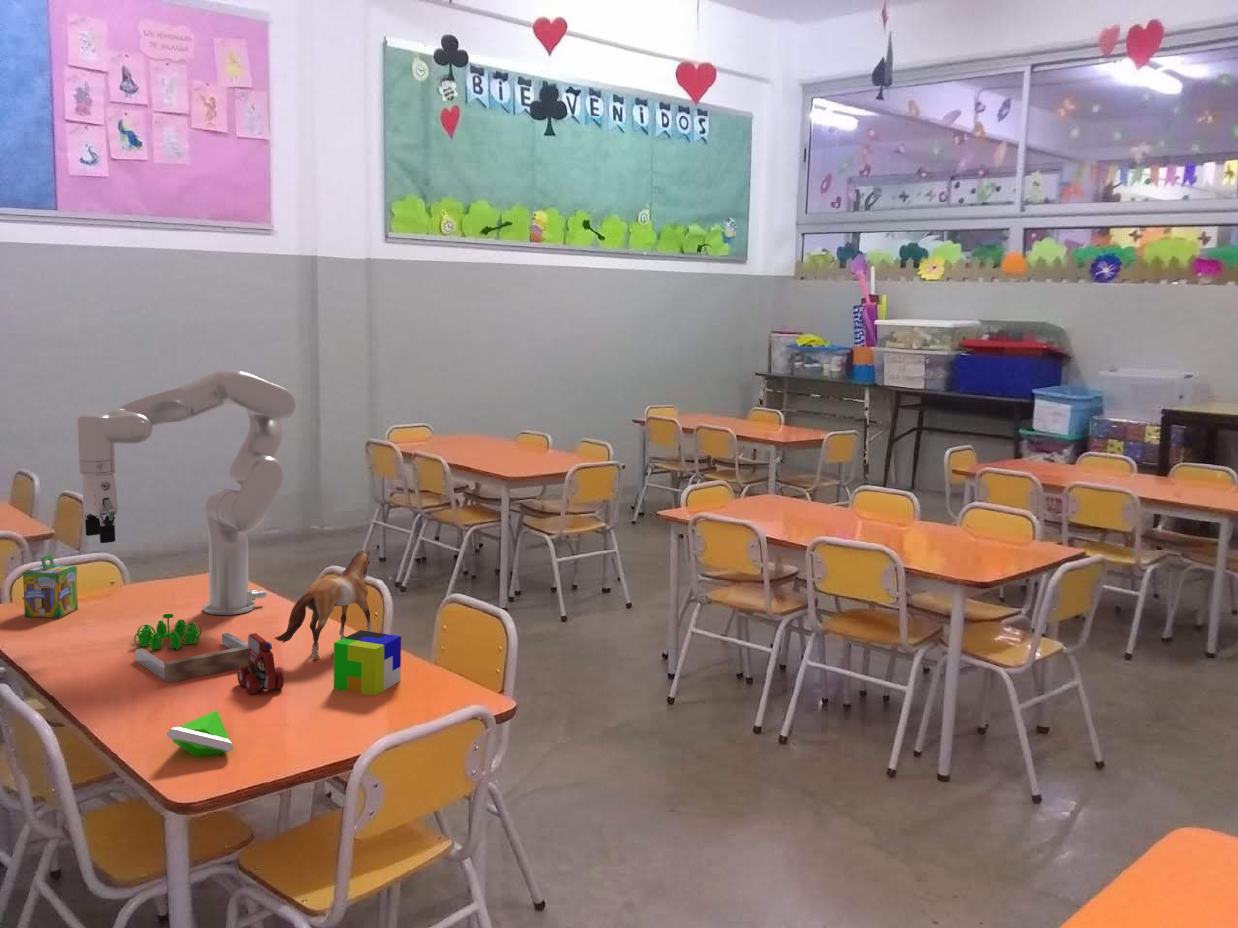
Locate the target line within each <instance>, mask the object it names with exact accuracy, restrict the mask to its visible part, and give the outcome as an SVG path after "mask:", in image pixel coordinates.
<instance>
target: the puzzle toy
mask: <svg viewBox="0 0 1238 928" xmlns="http://www.w3.org/2000/svg"><path fill="white" fill-rule="evenodd" d="M401 655H402V636H401V635H394V634H387V633H382V632H376V631H371V632H369V631H366V630H362V629H361V630H358V631H356V632H354V633H351V634H350V635H348V636H346V637H345V638H343V639H339V640H337V641H334V642H333V689H335V690H340V691H345V692H351V693H357V694H362V695H363V694H364V695H368V696H372V697H373V696H374V697H375V696H377V695H379V694H381V693H382V692H384V691H387V689H389V688H391V687H392V686H394V685H396V684H398V683H400V682H401V675H402V674H401V673H402V671H401V669H402V666H401V665H402V656H401Z"/></svg>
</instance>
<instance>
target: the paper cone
mask: <svg viewBox="0 0 1238 928" xmlns="http://www.w3.org/2000/svg"><path fill="white" fill-rule="evenodd" d="M166 736H167V737H168V738H169V739H171V740H172V742H173V743H174V744H175V745H177V746H179V747H180V748H182V750H184V751H186V752H188V753H189V754H191V755H192V756H195V757H198V756H200V757H201V756H207V755H208V756H209V755H221V754H225V753H226V752H227V753H228V752H231V751H233V743H232V742H231V740H230V737H229V735H228V733H227V730H226V729H225V726H224V723H223V722H222V719H221V717H220V714H219V713H218V711H217V710H214V711H211V712H209V713H207V714H204V715H202V716H200V717H198V718H196V719H192V720H191V721H189V722H186V723H184V724H181V725H180V726H176V727H172V728H170V729H169V730H168V732H167V733H166Z"/></svg>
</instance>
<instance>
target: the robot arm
mask: <svg viewBox="0 0 1238 928" xmlns="http://www.w3.org/2000/svg"><path fill="white" fill-rule="evenodd" d="M228 404H232V405H238V406H240V407H242V408H244V409H245V411H246V413H247V415H248V418H249V419H248V420H249V430H248V432H247V434H246V437H245V439H244V441H243V443H242V445H241V447H240V449H239V450H238V452H237V454H236V456H235V458H234V459H233V460H232V463H231V465H230V468H229V470H228V471H229V475H228V476H229V479H230V480H231V481H232V483H233V484H234V485H236V486H238V487H240V488H239V490H236V489H232V488H220V489H218V490H215V491H213V492H212V493H211V494H210V495H209V496H208V497H207V500H206V502H205V505H204V514H205V515H204V516H205V521H206V526H207V533H208V534H207V535H208V574H209V575H208V577H209V578H208V579H209V580H208V581H209V583H208V584H209V589H208V590H209V593H208V594H209V598H208V599H209V600H208V602H206V603H204V604H203V606H202V610H203V612H204V613H206V614H210V615H215V616H231V615H239V614H240V615H241V614H245V613H248V612H251V611H252V610H254V609H255V605H256V604H255V602H254V601H255V600H256V599H264V598H266V597H267V592H266V590H258V591H257V590H256V589H255V590H252V589H249V538H248V533H247V532H250V531H253V530H254V529H257V528H258V527H259V526H260V525H261V523H263V521H264V520H265V517H266V516H267V514H268V512H269V511H270V508H271V507H272V505H273V502H274V501H275V499H276V497H277V494H279V492H280V489H281V487H282V484H283V481H284V468H283V467H282V466H283V465H282V463H280V461H278V460H277V458H275V457H276V455H277V452H278V450H279V447H280V446H281V442H282V440H283V439H282V438H283V425H282V421H283V420H287V419H288V418H289V417H291V416H292V414H294V411H295V410H296V399H295V397H294V394H293V393H292V392H291V391H290V390H288V389H287V388H286V387H282V386H280V385H278V384H275V383H272V382H270V381H268V380H265V379H263V378H261V377H258V376H255V375H253V374H251V373H248V372H245V371H241V370H236V369H226V368H225V369H219V370H217V371H213V372H212V373H208V374H206V375H204V376H201V377H199V378H196V379H195V380H191V381H190V382H188V383H185V384H183V385H180V386H177V387H175V388H172V389H169V390H168V389H167V390H164V391H161V392H158V393H155V394H152V395H151V394H150V395H148V396H144V397H141V398H139V399H135V400H133V401H129V402H128V403H125V404H122V405H120V406H118V407H116V408H113V409H112V410H110V411H108V412H107V413H85V414H82V415H80V416H79V417H78V419H77V443H78V446H77V447H78V468H79V475H82V503H83V504H82V505H83V510H84V511H85V512H84V520H85V521H84V526H85V536H88V537H90V536H98V535H99V543H101V544H108V543H115V542H116V525H115V524H116V521H115V519H116V517H115V516H116V515H118V514H119V505H118V493H117V485H116V479H115V473H116V457H115V456H116V455H115V451H116V450H115V449H116V448H115V445H116V444H121V445H125V444H126V445H138V444H143V443H145V442H146V441H147V440H149V438H150V437H151V435H152V433H153V427H154V426H157V425H163V424H167V423H168V424H169V423H181V422H187V421H191V420H194V419H196V418H198V417H200V416H202V415H205V414H207V413H210V412H212V411H215V410H216V409H219V408H221V407H223V406H225V405H228Z"/></svg>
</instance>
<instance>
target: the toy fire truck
mask: <svg viewBox="0 0 1238 928" xmlns="http://www.w3.org/2000/svg"><path fill="white" fill-rule="evenodd" d="M247 640H248V641H247V643H248V646H249V657H248V666H244V667H240V668H237V669H238V670H237V676H236V677H237V681H238V684H239V686H240V687H241V688H242V687H243V688H245V690H246V693H247V694H248V695H253V694H257V693H258V691H259V690H260V689H262V688H263V689H266V690H281V689H283V687H284V685H285V683H284V682H285V680H284V675H283V674H284V673H283V671H282V670H281V669H276V667H275V660H274V653H273V651H272V649H273V644H272V643H271V642H270V641H269V642H268V641H267V640H266V639H264V638H263V637H262V636H260V634H258V633H256V632H253V633H250V634H248V637H247Z"/></svg>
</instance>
